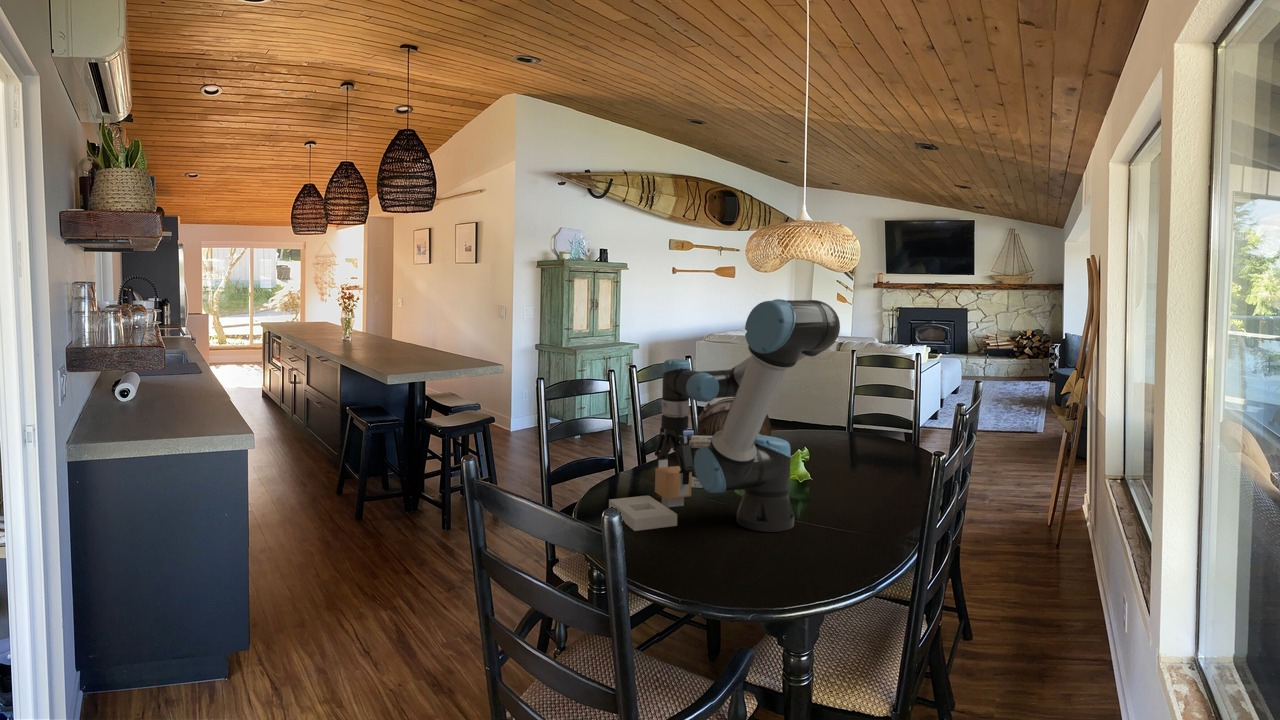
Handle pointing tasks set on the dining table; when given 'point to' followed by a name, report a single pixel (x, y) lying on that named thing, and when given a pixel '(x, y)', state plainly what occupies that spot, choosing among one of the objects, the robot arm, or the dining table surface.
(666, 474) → the plug
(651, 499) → the socket plate
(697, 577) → the dining table surface
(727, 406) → the sphere
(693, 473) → the tea box
